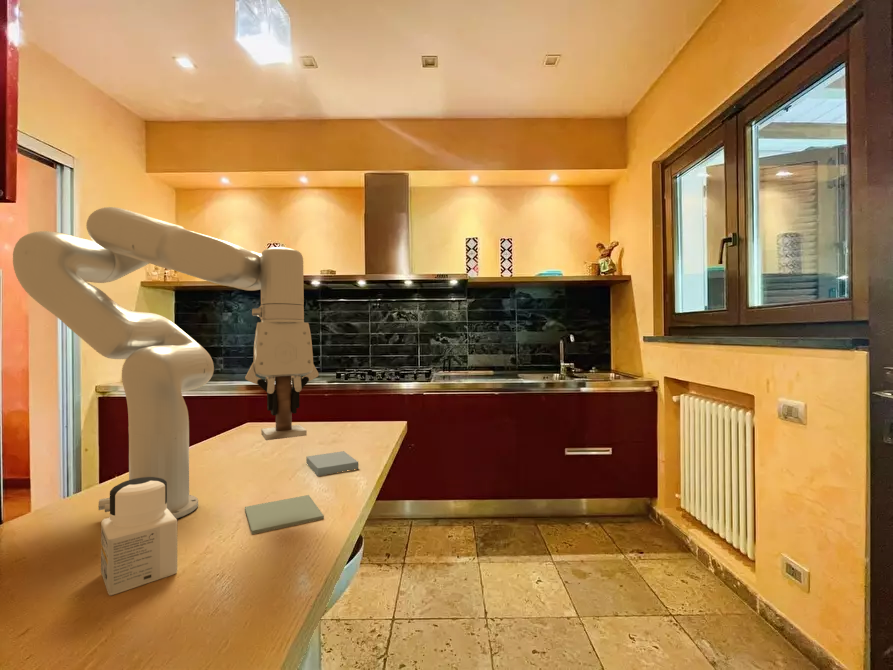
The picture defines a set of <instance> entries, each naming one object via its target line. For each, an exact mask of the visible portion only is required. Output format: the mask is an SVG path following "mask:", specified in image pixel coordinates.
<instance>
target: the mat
mask: <svg viewBox="0 0 893 670" xmlns="http://www.w3.org/2000/svg"><path fill="white" fill-rule="evenodd" d="M244 512H245V516H246V518H247V519H246V520H247V522H248V525H249V529H250V533H251V535H255V534H261V533H265V532H269V531H274V530H278V529H285V528H288V527H293V526H297V525H301V524H306V523H307V524H308V523H311V522H316V521H320V520H321V521H322V520H324V518H325V515H324V514H323V513H322V511H321V510H320V508H319V507H318V506H317V504H316V503H315V501H314V500H313V499H312V497H311V496H310V495H309V494H307V495H302V496H295V497H290V498H285V499H279V500H274V501H268V502H263V503H258V504H252V505H248V506H244Z"/></svg>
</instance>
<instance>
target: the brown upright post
mask: <svg viewBox="0 0 893 670" xmlns="http://www.w3.org/2000/svg"><path fill="white" fill-rule="evenodd" d="M291 388H292V380H291V376H277V377H275V386H274V389H275V393H276V394H277V414H276V415H275V427H274V426H273V427H267V428H261V429H260V431H261V435H262V437H263V438H264V440H265V441H274V440H282V439H288V438H289V439H290V438H297V437H305V436H306V437H307V435H308V433H307V431H308V430H307V428H305V427H303V426H302V425H301V424H294V425H293V423H292V421H293V419H292V418H293V417H292V414H293V413H292V412H291Z"/></svg>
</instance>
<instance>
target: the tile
mask: <svg viewBox="0 0 893 670" xmlns="http://www.w3.org/2000/svg"><path fill="white" fill-rule="evenodd" d="M305 459H306V463H307V464H308V465H307V464H306V465H307V466H308V468H310V469H311V470H312V472H313V471H314V472H315V473H314V472H313V473H314V474H315V475H316V476H317V477H322V476H323V475H324V476H328V475H327V474H330V475H333V474H332V473H336V474H338V473H337V472H342V471H347V470H354V469H358V470H359V461H358V460H357V459H356V458H354V457H353V456H351V455H350V454H348V453H347V452H346V451H344V450H343V451H337V452H336V451H335V452H334V451H333V452H328V453H321V454H315V455H307V456H306V458H305ZM354 471H355V470H354ZM342 473H343V472H342Z"/></svg>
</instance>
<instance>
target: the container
mask: <svg viewBox="0 0 893 670" xmlns="http://www.w3.org/2000/svg"><path fill="white" fill-rule="evenodd" d="M109 498H110V511H109V517H106V518H104V519H102V520H101V522H100V573H101V576H102V577H101V578H102V579H103V582H104V585H105V589H106V592H107V594H108V596H114V595H117V594H120V593H122V592H126V591H128V590H129V591H130V590H131V589H135V588H138V587H140V586H141V587H142V586H144V585H146V584H150V583H153V582H156V581H158V580H162V579H165V578H167V577H170V576H173V575H175V574H177V572H178V518H177V519H176V518H175V517H174V516H173V514H172V513H171V512H170V511H169V510H168V509H167V482H166V481H165V480H164V479H162V478H157V477H142V478H136V479H131V480H129V479H128V480H125V481H122V482H121V483H118V484H117V485H115V486H113V487H112V489H111V490H110V491H109Z"/></svg>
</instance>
